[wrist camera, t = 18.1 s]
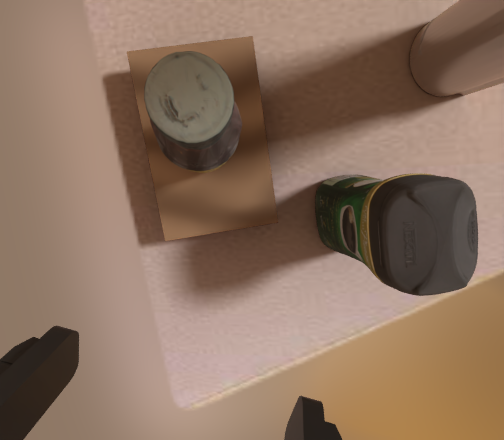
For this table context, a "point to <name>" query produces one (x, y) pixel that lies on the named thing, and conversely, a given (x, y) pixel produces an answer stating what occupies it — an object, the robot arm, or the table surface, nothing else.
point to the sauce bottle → (193, 111)
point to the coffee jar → (403, 228)
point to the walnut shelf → (229, 174)
